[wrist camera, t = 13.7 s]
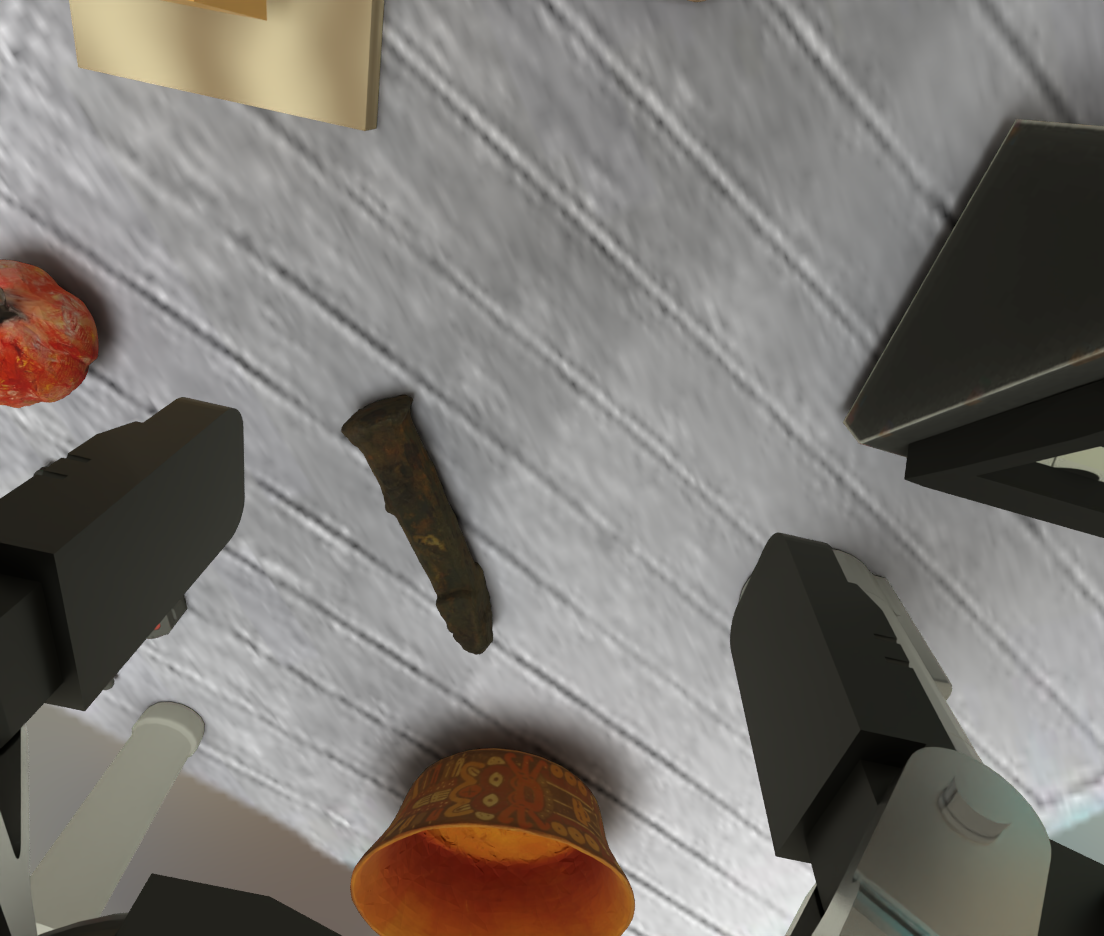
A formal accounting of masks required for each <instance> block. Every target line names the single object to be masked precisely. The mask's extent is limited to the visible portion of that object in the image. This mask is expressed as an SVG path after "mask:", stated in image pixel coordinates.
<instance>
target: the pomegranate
mask: <svg viewBox="0 0 1104 936" xmlns="http://www.w3.org/2000/svg"><path fill="white" fill-rule="evenodd" d="M97 357H98V334H97V329H96V325H95V321H94V319H93V317H92V315H91V313H90V312H89V310H88V309H87V307H86V306H85V304H84V303H83V302H82V301H81V300H80V299H78V298H77V297H76V296H74V295H72V294H71V293H69V292H67V291H65V290H64V289H62V288H61V287H60V286H58V284H57V283H56V282H55V281H54V279H53V278H52V277H51V276H50V275H49V274H48V273H46V272H45V271H44V270H42V269H40V268H39V267H36V266H33V265H30V264H26V263H22V262H18V261H13V260H0V405H7V406H10V407H15V408H21V407H23V406H30V405H33V404H35V403H39V402H55V401H58V400H60V399H63V398H64V397H66V396H67V395H69V394H70V393H71V392H72V391H73V390H75V389H76V388H77V387H78V386H79V385H80V384H81V383H82V382H83V380H84V379H85V377H86V375H87V372H88V369H89V365H90V364H91V363H92V362H93V361H94V360H95V359H97Z"/></svg>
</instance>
